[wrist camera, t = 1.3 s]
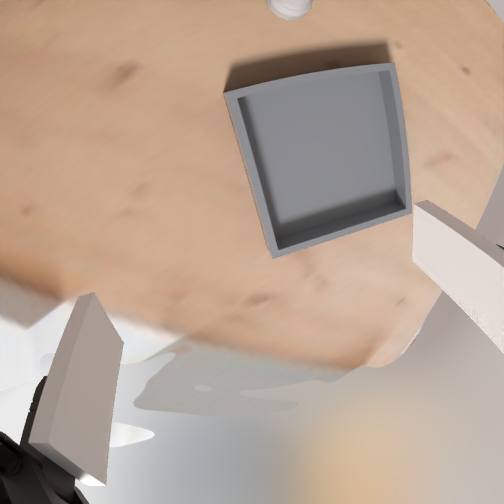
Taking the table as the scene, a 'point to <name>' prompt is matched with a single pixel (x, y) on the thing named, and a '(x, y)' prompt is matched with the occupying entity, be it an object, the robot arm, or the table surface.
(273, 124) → the tray
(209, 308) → the table surface
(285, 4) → the rook chess piece
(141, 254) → the table surface
